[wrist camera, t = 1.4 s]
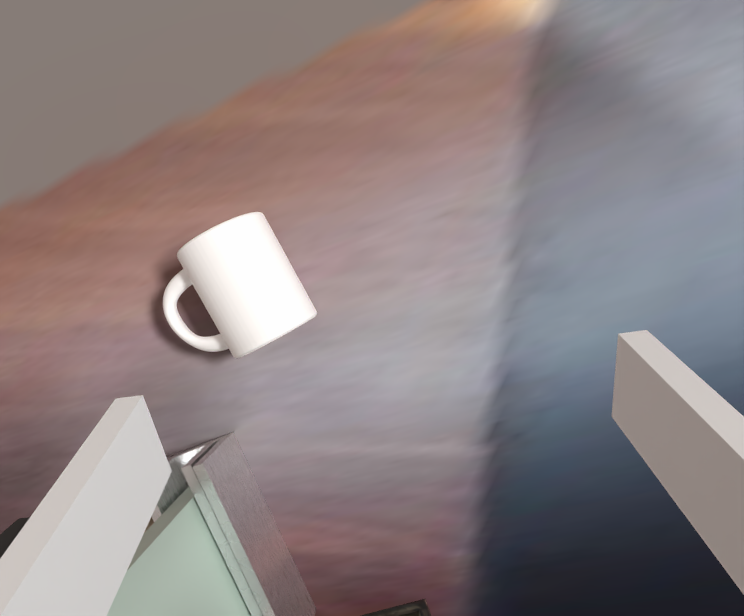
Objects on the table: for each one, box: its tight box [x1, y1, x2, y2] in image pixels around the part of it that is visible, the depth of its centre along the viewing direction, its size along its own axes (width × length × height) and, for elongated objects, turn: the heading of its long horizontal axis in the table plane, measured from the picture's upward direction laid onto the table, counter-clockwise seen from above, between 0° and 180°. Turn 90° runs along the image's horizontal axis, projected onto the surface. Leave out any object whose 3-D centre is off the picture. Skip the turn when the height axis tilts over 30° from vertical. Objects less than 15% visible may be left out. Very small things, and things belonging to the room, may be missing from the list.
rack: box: [151, 432, 316, 616], centre depth 49 cm, size 20×18×7 cm
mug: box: [163, 212, 317, 359], centre depth 45 cm, size 12×10×8 cm
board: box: [107, 486, 252, 616], centre depth 41 cm, size 14×2×20 cm, turn 23°
